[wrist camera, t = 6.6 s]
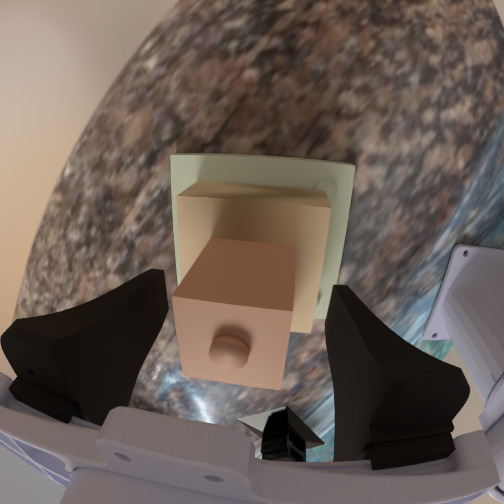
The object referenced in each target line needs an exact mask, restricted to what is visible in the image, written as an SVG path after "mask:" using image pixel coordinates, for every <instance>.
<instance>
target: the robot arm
mask: <svg viewBox="0 0 504 504" xmlns="http://www.w3.org/2000/svg"><path fill="white" fill-rule="evenodd" d="M465 250H466V253H465V254H463V253H464V251H465ZM168 309H169V307H168V300H167V292H166V284H165V275H164V270H159V269H150V270H147V271H145V272H143V273H142V274H140V275H138V276H136V277H135V278H133V279H131V280H129V281H128V282H126V283H124V284H122V285H121V286H119V287H117V288H115V289H113V290H111V291H109V292H108V293H106V294H104V295H102V296H100V297H98V298H96V299H93V300H91V301H89V302H86V303H84V304H81V305H79V306H76V307H73V308H70V309H66V310H63V311H60V312H56V313H52V314H48V315H43V316H37V317H30V318H22V319H16V320H15V321H14V323H13V324H12V325H11V326H10V327H9V328H8V329H7V330H6V331H5V332H4V333H3V334H2V336H1V340H0V342H1V346H2V350H3V352H4V354H5V356H6V358H7V360H8V361H9V363H10V365H11V367H12V368H13V370H14V372H15V373H16V375H17V377H16V379H15V380H14V381H13V380H12V379H11V378H10V377H8V376H7V375H5V374H3V373H1V372H0V446H2V447H3V448H5V449H6V450H7V451H9V452H10V453H12V454H13V455H14V456H16V457H17V458H19V459H20V460H22V461H23V462H25V463H26V464H28V465H29V466H31V467H32V468H34V469H36V470H37V471H39V472H40V473H42V474H43V475H45V476H47V477H48V478H50V479H52V480H53V481H55V482H57V483H58V484H60V485H62V486H64V487H66V490H65V492H64V495H63V497H62V499H61V502H60V504H471V503H472V502H474V501H475V500H477V499H478V498H480V497H481V496H483V495H484V494H486V493H488V494H489V495H490V496H491V497H492V498H494V499H495V500H497V501H499V502H500V503H502V504H504V250H503V249H495V248H488V247H480V246H473V245H465V244H458V245H456V246H455V247H454V249H453V252H452V255H451V258H450V262H449V265H448V268H447V271H446V274H445V277H444V280H443V283H442V286H441V288H440V291H439V294H438V297H437V299H436V302H435V305H434V307H433V310H432V312H431V315H430V317H429V320H428V322H427V324H426V327H425V329H424V331H423V338H424V339H425V340H447V339H451V340H452V341H453V343H454V345H455V347H456V349H457V351H458V353H459V354H460V356H461V358H462V360H463V362H464V364H465V366H466V368H467V370H468V372H469V373H470V376H471V378H472V380H473V382H474V384H475V386H476V388H477V390H478V392H479V395H480V397H481V399H482V401H483V403H484V406H485V410H484V412H483V413H482V414H481V415H480V417H479V420H480V422H481V425H482V428H483V430H478V431H474V432H471V433H467V434H463V435H460V436H458V437H456V438H454V439H453V438H452V435H451V432H452V431H453V430H454V426H453V423H452V420H453V419H454V417H455V416H456V415H457V413H458V412H459V411H460V410H461V408H462V407H463V406H464V404H465V403H466V401H467V399H468V397H469V394H470V387H469V384H468V382H467V380H466V378H465V376H464V374H463V372H462V370H461V368H459V367H456V366H454V365H451V364H448V363H446V362H443V361H441V360H439V359H437V358H435V357H433V356H431V355H429V354H427V353H425V352H423V351H421V350H419V349H418V348H416V347H415V346H413V345H411V344H410V343H408V342H407V341H405V340H404V339H403V338H401V337H400V336H399V335H397V334H396V333H395V332H393V331H392V330H391V329H390V328H388V327H387V326H386V325H385V324H384V323H383V322H382V321H381V320H380V319H378V318H377V317H376V316H375V315H374V314H373V313H372V312H371V311H370V310H369V309H368V307H367V306H366V305H365V304H364V303H363V302H362V301H361V300H360V299H359V298H358V297H357V295H356V294H355V293H354V292H353V291H352V290H351V289H350V288H349V287H348V286H347V285H333V287H332V292H331V297H330V302H329V307H328V311H327V316H326V321H325V336H326V347H327V352H328V358H329V364H330V369H331V375H332V381H333V388H334V406H335V438H334V459H333V462H284V461H268V460H263V459H259V458H255V449H256V448H255V446H254V444H253V442H252V440H251V439H250V438H249V437H248V436H246V435H245V434H243V433H241V432H239V431H238V430H236V429H233V428H229V427H225V426H221V425H218V424H211V423H205V422H199V421H193V420H188V419H182V418H177V417H172V416H168V415H163V414H159V413H154V412H150V411H146V410H142V409H138V408H132V407H128V404H129V401H130V398H131V395H132V391H133V388H134V385H135V383H136V380H137V377H138V374H139V371H140V369H141V367H142V365H143V363H144V361H145V359H146V357H147V355H148V353H149V351H150V349H151V347H152V345H153V343H154V342H155V340H156V338H157V336H158V334H159V332H160V330H161V328H162V326H163V323H164V321H165V318H166V315H167V312H168ZM434 333H435V334H434Z"/></svg>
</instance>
